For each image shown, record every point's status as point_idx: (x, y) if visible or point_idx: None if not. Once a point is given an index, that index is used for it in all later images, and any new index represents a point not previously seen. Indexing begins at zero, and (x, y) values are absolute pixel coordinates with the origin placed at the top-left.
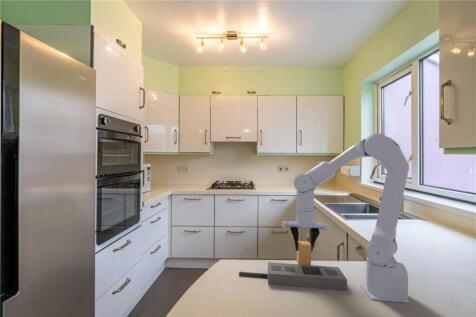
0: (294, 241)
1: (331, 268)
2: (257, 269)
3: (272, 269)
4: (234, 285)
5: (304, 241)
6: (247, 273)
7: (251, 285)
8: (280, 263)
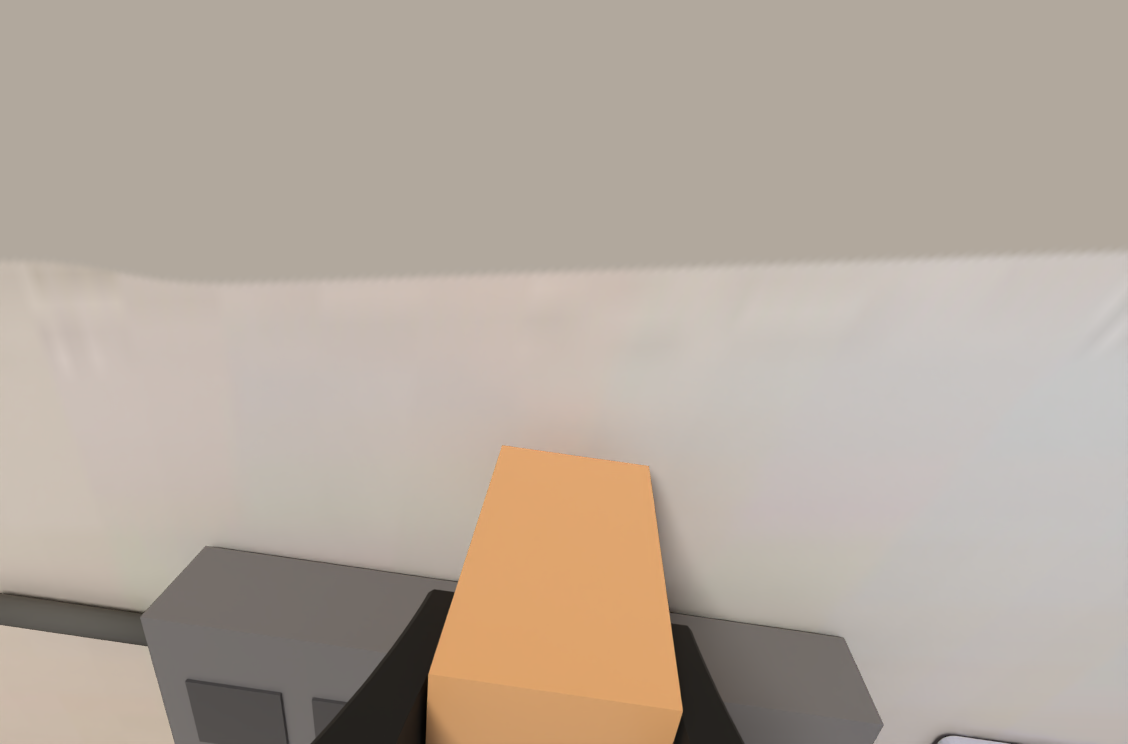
0: (369, 680)
1: (785, 740)
2: (106, 494)
3: (207, 741)
4: (22, 692)
5: (579, 706)
6: (38, 629)
7: (130, 696)
8: (274, 643)
